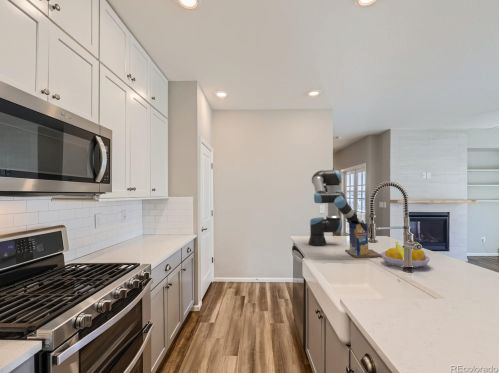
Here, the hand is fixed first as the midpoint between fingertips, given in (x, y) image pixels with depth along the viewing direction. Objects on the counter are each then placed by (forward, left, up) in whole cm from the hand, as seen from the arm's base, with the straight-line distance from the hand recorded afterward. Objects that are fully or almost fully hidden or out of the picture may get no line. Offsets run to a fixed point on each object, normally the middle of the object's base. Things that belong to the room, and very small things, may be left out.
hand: (366, 235), depth 193 cm
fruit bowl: (+28, +13, -14) cm, 33 cm away
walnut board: (+2, -3, -13) cm, 14 cm away
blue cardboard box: (+4, -7, -12) cm, 15 cm away
